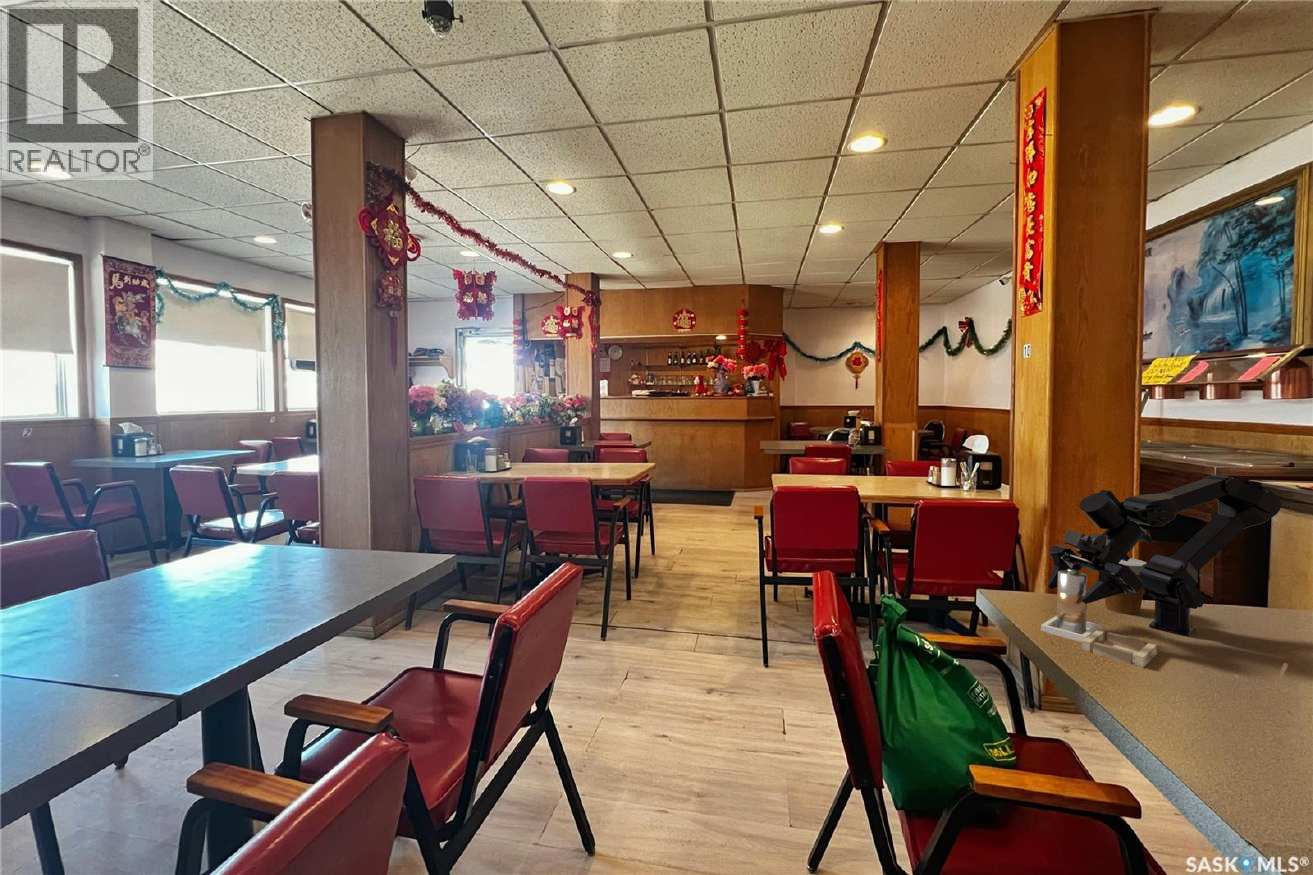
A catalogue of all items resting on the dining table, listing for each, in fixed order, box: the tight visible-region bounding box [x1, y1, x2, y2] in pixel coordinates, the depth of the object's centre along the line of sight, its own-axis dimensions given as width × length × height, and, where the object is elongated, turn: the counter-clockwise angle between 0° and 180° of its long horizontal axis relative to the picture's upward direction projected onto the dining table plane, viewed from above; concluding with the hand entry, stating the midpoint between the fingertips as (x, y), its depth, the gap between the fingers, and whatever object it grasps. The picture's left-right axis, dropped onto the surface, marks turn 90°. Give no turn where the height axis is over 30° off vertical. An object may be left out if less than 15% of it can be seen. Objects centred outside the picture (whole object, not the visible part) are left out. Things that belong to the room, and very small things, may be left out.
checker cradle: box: [1081, 629, 1158, 669], centre depth 109 cm, size 9×9×2 cm
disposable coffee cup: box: [1104, 557, 1147, 615], centre depth 133 cm, size 10×10×12 cm
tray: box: [1040, 615, 1103, 643], centre depth 120 cm, size 10×8×2 cm
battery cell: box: [1056, 569, 1088, 635], centre depth 119 cm, size 5×5×13 cm
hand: (1065, 594), depth 119 cm, fingers open, 9 cm apart
